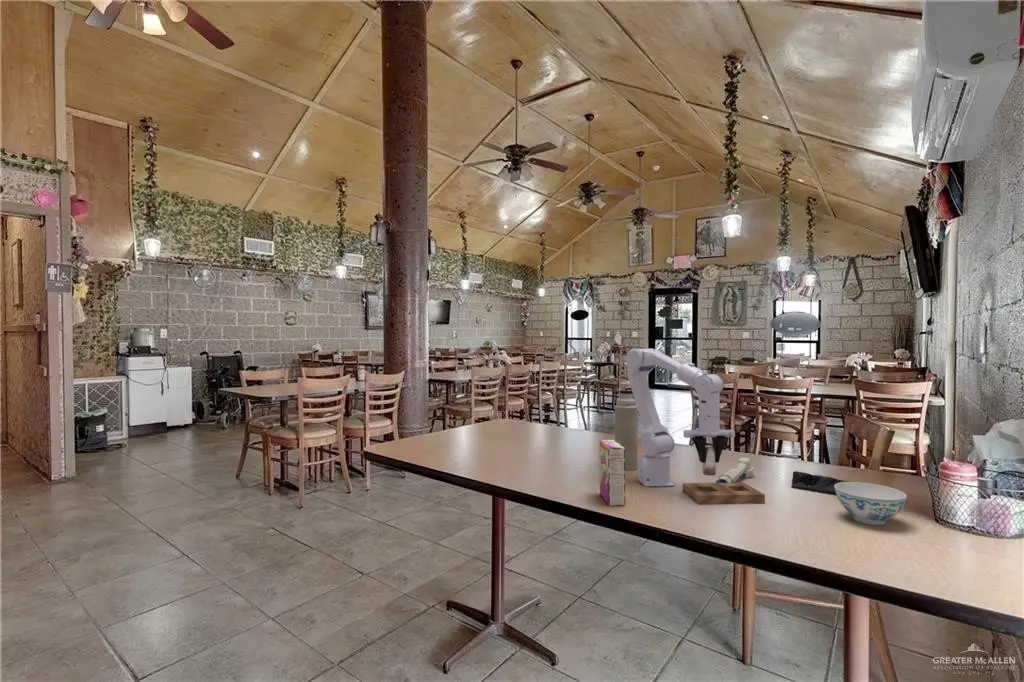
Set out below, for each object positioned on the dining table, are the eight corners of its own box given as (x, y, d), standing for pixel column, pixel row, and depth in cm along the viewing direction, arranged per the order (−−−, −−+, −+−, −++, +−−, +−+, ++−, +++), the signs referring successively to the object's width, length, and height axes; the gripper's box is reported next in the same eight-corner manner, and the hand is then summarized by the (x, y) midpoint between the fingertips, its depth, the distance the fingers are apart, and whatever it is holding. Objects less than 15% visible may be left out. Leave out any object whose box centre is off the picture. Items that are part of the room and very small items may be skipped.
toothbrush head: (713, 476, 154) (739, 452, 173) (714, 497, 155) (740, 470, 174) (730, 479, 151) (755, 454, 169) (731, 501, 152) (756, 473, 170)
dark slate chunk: (871, 504, 141) (871, 488, 141) (786, 488, 157) (786, 473, 157) (881, 493, 152) (881, 477, 152) (801, 479, 167) (801, 464, 167)
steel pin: (705, 475, 144) (705, 447, 144) (700, 472, 148) (700, 445, 148) (717, 475, 144) (717, 447, 144) (712, 472, 148) (712, 445, 148)
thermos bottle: (616, 464, 186) (616, 389, 186) (638, 465, 183) (638, 389, 183) (613, 469, 178) (613, 391, 178) (636, 471, 176) (636, 391, 176)
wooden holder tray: (698, 504, 140) (698, 495, 140) (682, 491, 152) (682, 483, 152) (764, 503, 141) (764, 494, 141) (743, 490, 153) (743, 482, 153)
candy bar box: (598, 494, 150) (598, 439, 150) (614, 493, 150) (614, 439, 150) (608, 506, 138) (608, 447, 138) (626, 506, 139) (625, 447, 139)
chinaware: (910, 536, 117) (910, 503, 117) (834, 523, 125) (834, 493, 125) (902, 516, 130) (902, 487, 130) (833, 506, 138) (833, 479, 138)
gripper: (690, 417, 142) (690, 465, 142) (740, 417, 142) (740, 465, 142) (680, 414, 149) (680, 459, 149) (728, 413, 150) (728, 459, 150)
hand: (709, 461), depth 146 cm, fingers closed on steel pin, 4 cm apart
